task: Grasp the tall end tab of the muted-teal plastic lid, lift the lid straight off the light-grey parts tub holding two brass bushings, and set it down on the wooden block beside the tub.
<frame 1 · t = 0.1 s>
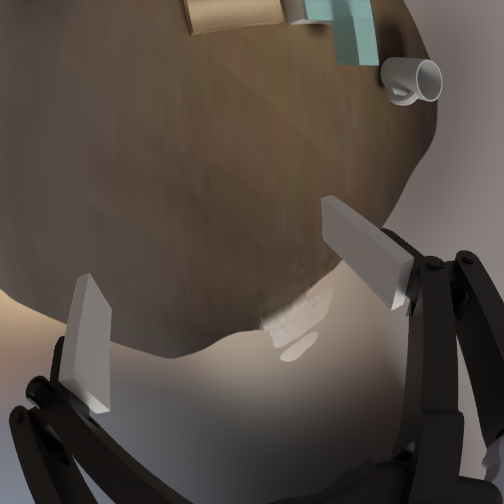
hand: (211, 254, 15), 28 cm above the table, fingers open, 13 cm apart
cup: (389, 80, 41), on the table
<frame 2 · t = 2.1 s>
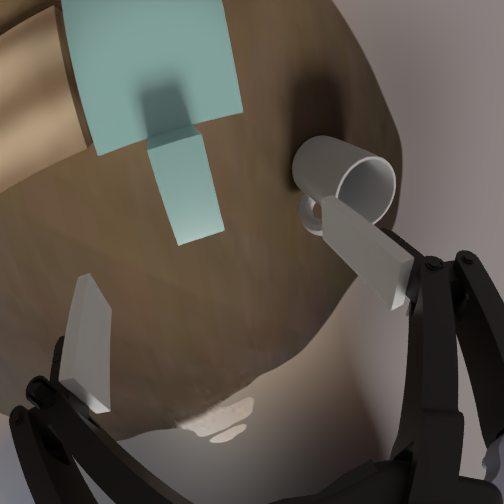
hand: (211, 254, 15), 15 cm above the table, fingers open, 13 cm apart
lid: (147, 36, 15), point 6 cm above the table, touching tub
cup: (311, 174, 32), on the table
wooden block: (20, 102, 17), on the table
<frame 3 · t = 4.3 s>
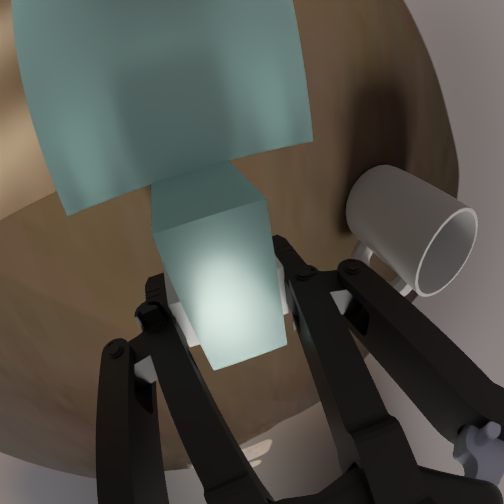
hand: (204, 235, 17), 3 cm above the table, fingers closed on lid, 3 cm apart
lid: (149, 2, 7), point 6 cm above the table, touching gripper, tub
cup: (366, 213, 24), on the table
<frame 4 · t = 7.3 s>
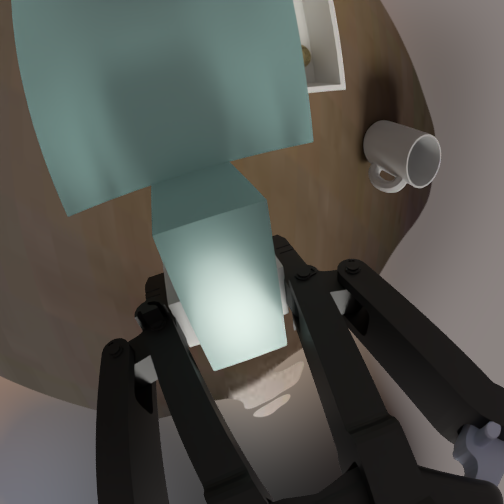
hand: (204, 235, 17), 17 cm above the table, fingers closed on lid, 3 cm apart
lid: (150, 2, 7), point 20 cm above the table, touching gripper
tub: (270, 35, 26), on the table
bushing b: (289, 57, 27), point 1 cm above the table, touching tub
cup: (374, 149, 38), on the table
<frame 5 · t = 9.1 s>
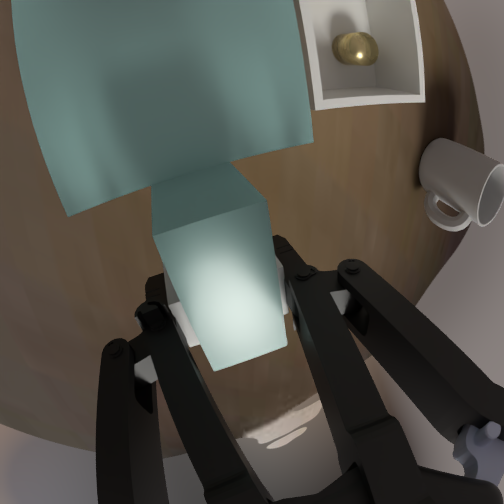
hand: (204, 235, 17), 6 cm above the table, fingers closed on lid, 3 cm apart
lid: (150, 3, 7), point 9 cm above the table, touching gripper
tub: (320, 17, 17), on the table
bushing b: (346, 49, 18), point 1 cm above the table, touching tub
cup: (429, 173, 29), on the table
when the fingers open (3 cm above the table, at t = 10.5 s): lid drops 2 cm, resting on wooden block.
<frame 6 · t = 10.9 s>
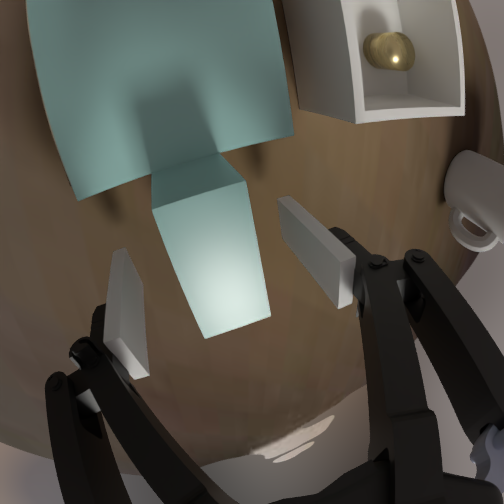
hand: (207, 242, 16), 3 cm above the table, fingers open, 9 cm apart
lid: (150, 15, 9), point 4 cm above the table, touching wooden block
tub: (348, 12, 14), on the table
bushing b: (377, 51, 15), point 1 cm above the table, touching tub
cup: (453, 187, 26), on the table
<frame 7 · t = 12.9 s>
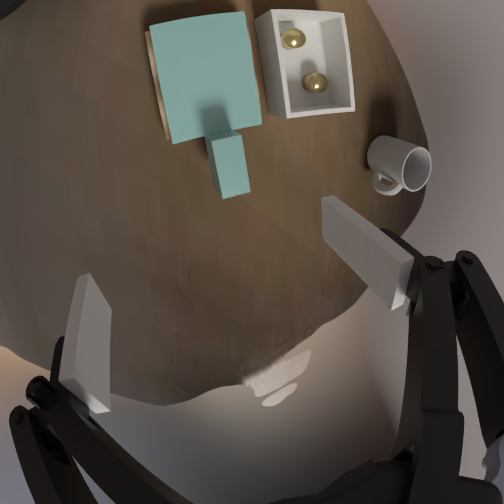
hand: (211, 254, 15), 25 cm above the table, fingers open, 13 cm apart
lid: (206, 73, 28), point 4 cm above the table, touching wooden block
tub: (295, 63, 34), on the table
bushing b: (310, 82, 35), point 1 cm above the table, touching tub
cup: (376, 160, 46), on the table
wooden block: (201, 75, 31), on the table
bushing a: (288, 40, 31), point 1 cm above the table, touching tub
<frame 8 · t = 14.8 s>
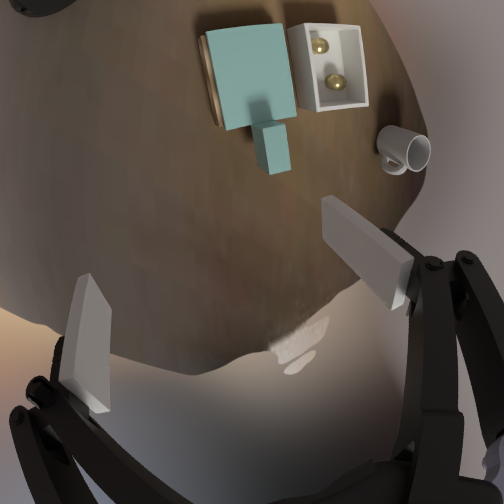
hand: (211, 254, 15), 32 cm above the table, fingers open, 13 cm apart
lid: (252, 73, 35), point 4 cm above the table, touching wooden block
tub: (319, 65, 40), on the table
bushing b: (331, 82, 41), point 1 cm above the table, touching tub
cup: (384, 146, 52), on the table
wooden block: (245, 74, 38), on the table
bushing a: (313, 46, 37), point 1 cm above the table, touching tub
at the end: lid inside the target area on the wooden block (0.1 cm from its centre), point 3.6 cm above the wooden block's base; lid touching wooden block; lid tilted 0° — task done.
